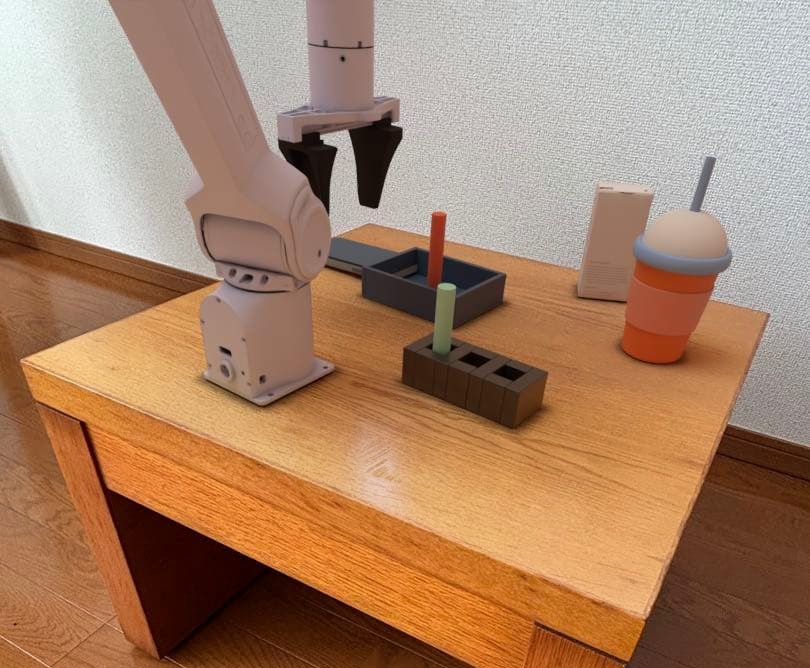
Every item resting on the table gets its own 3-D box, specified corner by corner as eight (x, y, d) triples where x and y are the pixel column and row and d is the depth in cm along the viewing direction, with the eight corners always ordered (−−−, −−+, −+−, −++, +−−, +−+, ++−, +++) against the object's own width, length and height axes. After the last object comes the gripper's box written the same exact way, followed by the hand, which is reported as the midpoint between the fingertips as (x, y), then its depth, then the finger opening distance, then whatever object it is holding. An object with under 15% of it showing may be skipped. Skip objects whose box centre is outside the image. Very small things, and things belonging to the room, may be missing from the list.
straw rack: (541, 407, 59) (548, 371, 57) (513, 429, 56) (519, 392, 54) (432, 364, 64) (435, 330, 62) (401, 382, 61) (403, 347, 59)
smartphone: (337, 235, 89) (426, 258, 82) (337, 248, 90) (425, 272, 83) (297, 247, 84) (389, 273, 77) (298, 261, 85) (388, 287, 79)
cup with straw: (700, 376, 65) (777, 174, 53) (608, 364, 66) (662, 163, 54) (689, 338, 72) (755, 152, 60) (605, 328, 73) (653, 142, 61)
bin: (502, 302, 77) (506, 273, 75) (453, 329, 71) (456, 297, 69) (413, 274, 83) (415, 246, 81) (361, 296, 77) (361, 266, 74)
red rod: (434, 300, 76) (440, 216, 70) (423, 296, 77) (428, 213, 71) (442, 296, 77) (449, 213, 71) (431, 292, 78) (437, 210, 72)
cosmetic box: (623, 290, 82) (652, 183, 74) (627, 304, 79) (657, 193, 71) (574, 285, 83) (597, 178, 75) (575, 298, 79) (599, 188, 71)
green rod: (440, 387, 61) (449, 291, 55) (426, 382, 62) (433, 286, 56) (450, 381, 62) (459, 286, 56) (436, 376, 63) (444, 281, 57)
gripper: (316, 55, 50) (323, 241, 59) (428, 45, 59) (419, 207, 68) (253, 45, 53) (269, 223, 62) (368, 37, 62) (368, 193, 71)
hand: (344, 214), depth 65 cm, fingers open, 7 cm apart
